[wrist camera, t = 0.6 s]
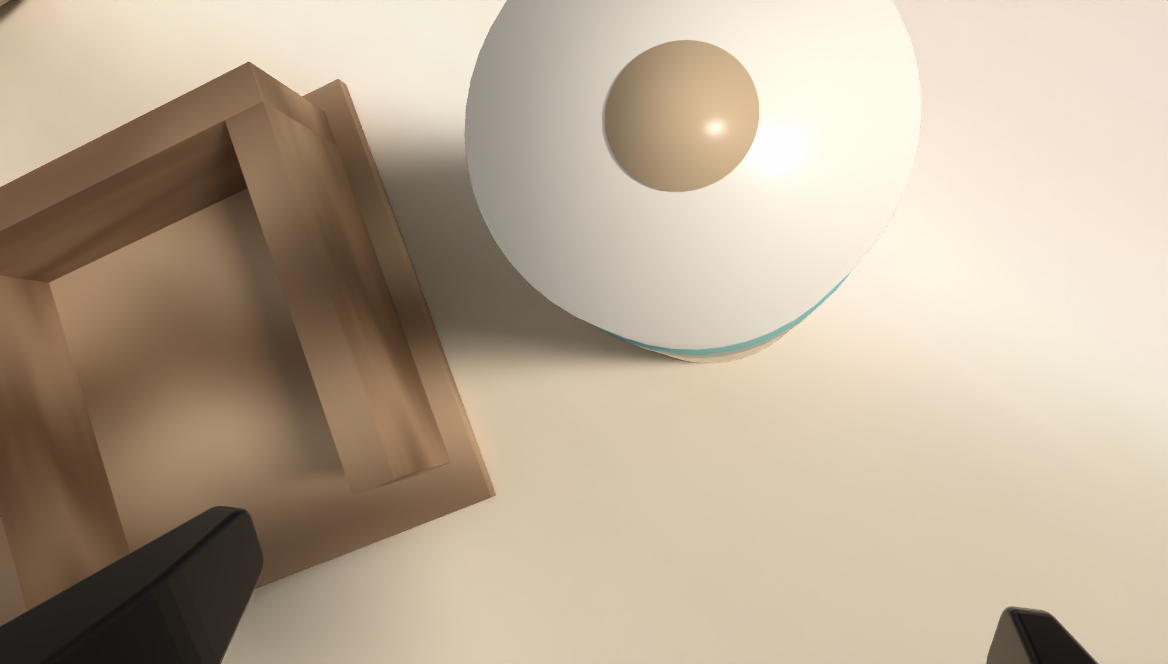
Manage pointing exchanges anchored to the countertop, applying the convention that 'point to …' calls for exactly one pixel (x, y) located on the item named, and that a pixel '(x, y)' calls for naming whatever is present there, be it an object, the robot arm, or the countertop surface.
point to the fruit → (3, 2)
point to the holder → (217, 343)
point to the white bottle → (692, 158)
